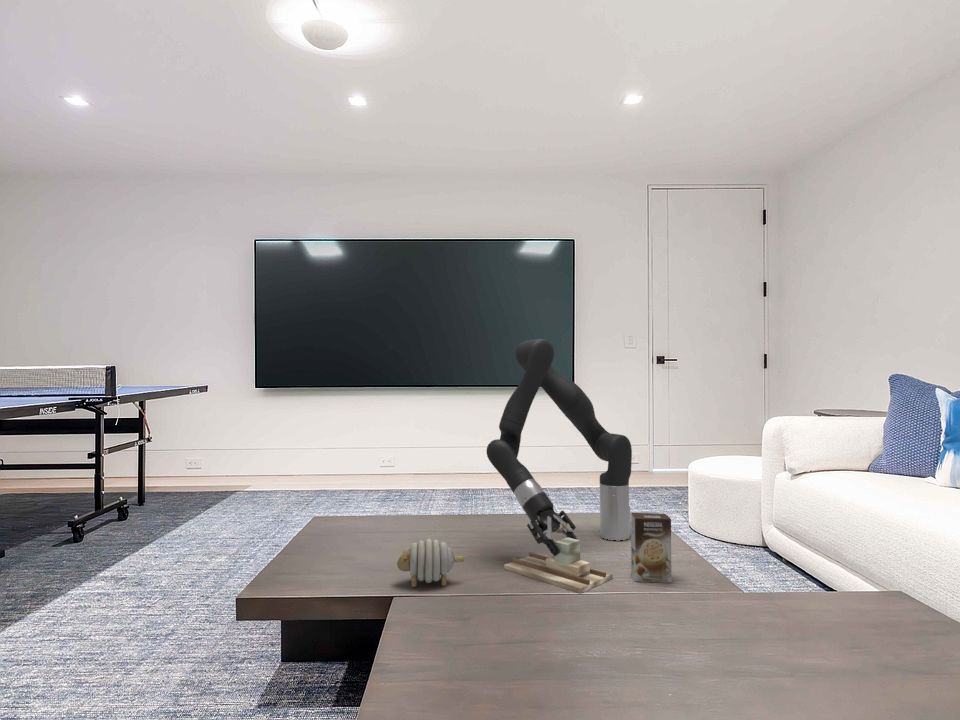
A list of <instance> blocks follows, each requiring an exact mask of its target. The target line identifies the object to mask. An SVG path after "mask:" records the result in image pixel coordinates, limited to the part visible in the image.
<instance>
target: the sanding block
mask: <svg viewBox="0 0 960 720" xmlns="http://www.w3.org/2000/svg"><path fill="white" fill-rule="evenodd" d="M554 542H555V543H556V545H557V546H558V548H559V549H560V553H559V554H558V555H557V556H554V555H553V556H550V558H547V559H546V567H547V568H550V569H554V570H557V571H561V572H564V573H567V574H571V575H574V576H578V577H581V578H582V577H584V576H587V575H589V574H590V568H591V563H590V562H589V561H586V560H582V559H581V540H580V539H578V540H576V539H572V538H568V537H567V538H566V537H565V538H562V539H558V540H556V541H555V540H554Z"/></svg>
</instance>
